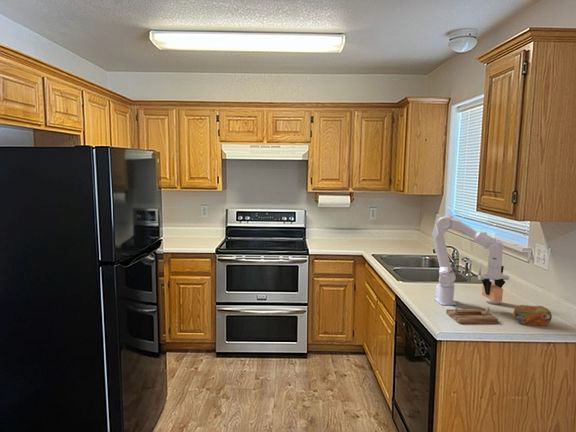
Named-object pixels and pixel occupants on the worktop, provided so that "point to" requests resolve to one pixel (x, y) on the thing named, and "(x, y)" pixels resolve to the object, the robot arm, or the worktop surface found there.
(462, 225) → the robot arm
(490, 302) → the travel mug
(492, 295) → the bar
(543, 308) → the tin
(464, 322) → the board
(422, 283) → the worktop surface
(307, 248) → the worktop surface
